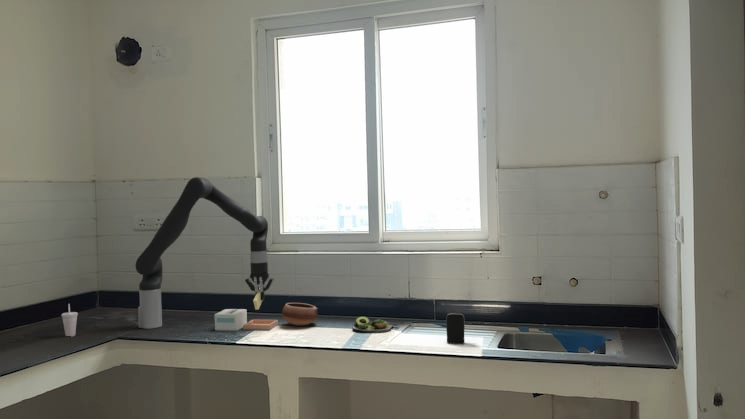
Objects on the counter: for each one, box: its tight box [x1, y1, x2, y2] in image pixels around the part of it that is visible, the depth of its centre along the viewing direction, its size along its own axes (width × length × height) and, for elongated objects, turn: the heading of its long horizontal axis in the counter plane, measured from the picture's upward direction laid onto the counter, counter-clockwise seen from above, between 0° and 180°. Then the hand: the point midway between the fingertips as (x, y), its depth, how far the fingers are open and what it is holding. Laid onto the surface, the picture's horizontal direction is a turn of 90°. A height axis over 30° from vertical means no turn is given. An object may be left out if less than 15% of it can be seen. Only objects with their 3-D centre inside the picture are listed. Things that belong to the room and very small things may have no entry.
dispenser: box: [214, 308, 248, 332], centre depth 269 cm, size 10×12×7 cm
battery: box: [445, 312, 466, 345], centre depth 233 cm, size 7×4×11 cm, turn 78°
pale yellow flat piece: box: [253, 287, 264, 311], centre depth 266 cm, size 1×5×9 cm
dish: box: [242, 319, 279, 331], centre depth 268 cm, size 12×11×2 cm
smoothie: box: [61, 303, 79, 337], centre depth 261 cm, size 6×6×14 cm
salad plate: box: [351, 316, 399, 334], centre depth 261 cm, size 19×18×5 cm
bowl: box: [281, 302, 318, 327], centre depth 270 cm, size 16×16×10 cm
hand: (260, 300), depth 268 cm, fingers closed on pale yellow flat piece, 1 cm apart
